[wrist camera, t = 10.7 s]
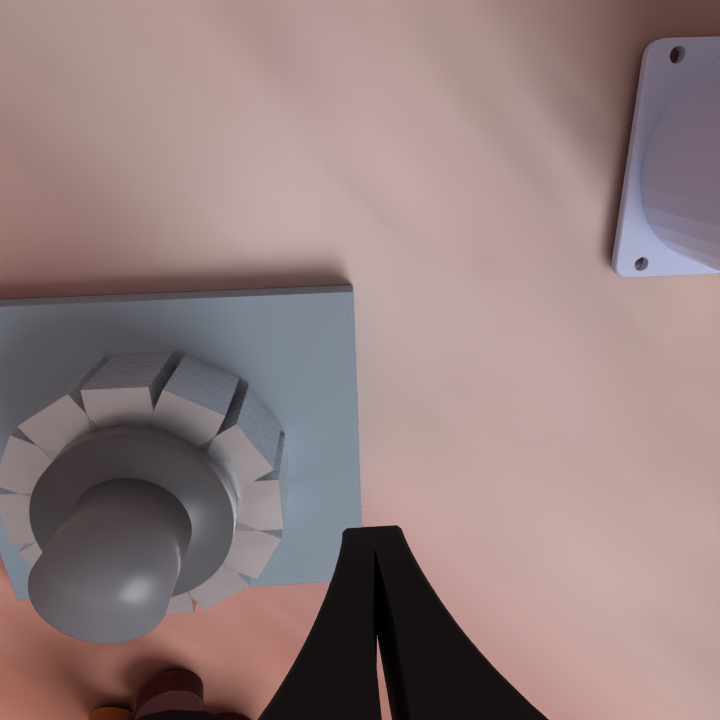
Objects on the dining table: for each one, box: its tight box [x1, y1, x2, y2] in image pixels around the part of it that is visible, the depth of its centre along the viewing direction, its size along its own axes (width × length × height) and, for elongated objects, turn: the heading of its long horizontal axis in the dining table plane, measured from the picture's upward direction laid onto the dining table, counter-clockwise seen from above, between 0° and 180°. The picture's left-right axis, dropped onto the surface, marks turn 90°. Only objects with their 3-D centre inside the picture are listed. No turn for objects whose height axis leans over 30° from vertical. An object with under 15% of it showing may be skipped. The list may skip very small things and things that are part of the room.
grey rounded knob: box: [28, 426, 237, 643], centre depth 19 cm, size 7×7×7 cm
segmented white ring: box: [0, 350, 290, 614], centre depth 21 cm, size 10×10×3 cm
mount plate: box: [0, 285, 362, 600], centre depth 23 cm, size 16×14×1 cm
